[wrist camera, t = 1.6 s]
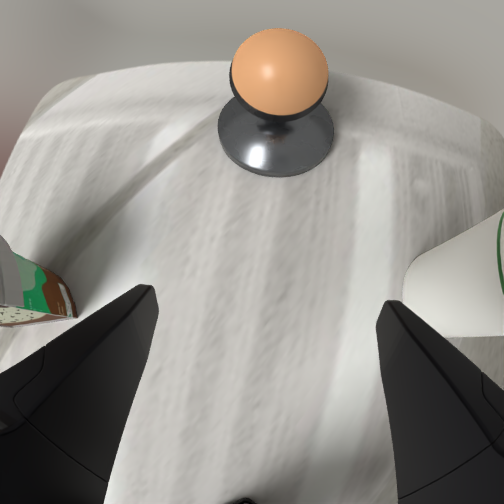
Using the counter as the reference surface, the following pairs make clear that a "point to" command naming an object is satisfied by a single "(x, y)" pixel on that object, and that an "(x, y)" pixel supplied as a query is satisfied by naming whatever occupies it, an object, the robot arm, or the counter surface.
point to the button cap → (279, 71)
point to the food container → (30, 292)
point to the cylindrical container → (461, 282)
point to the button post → (274, 137)
